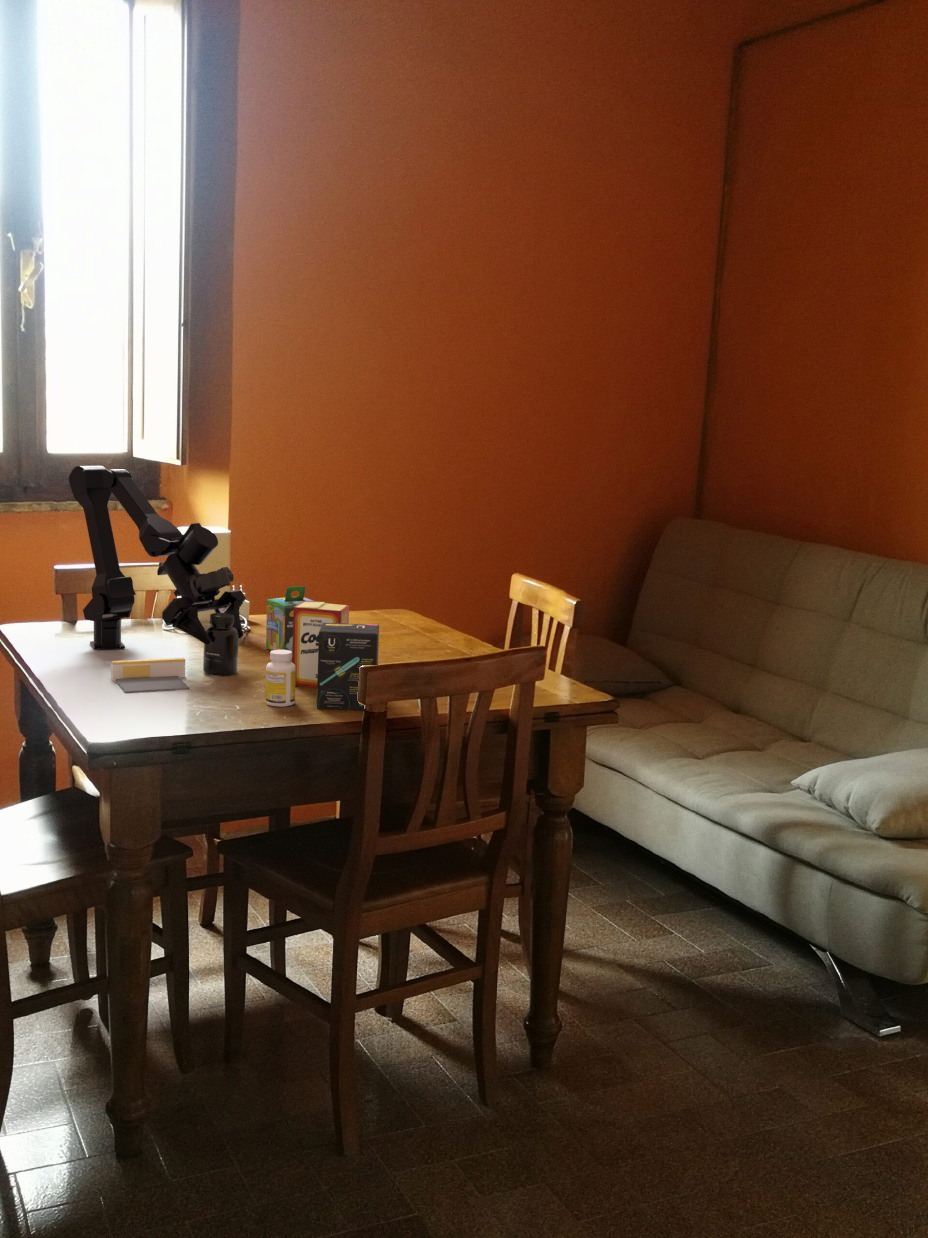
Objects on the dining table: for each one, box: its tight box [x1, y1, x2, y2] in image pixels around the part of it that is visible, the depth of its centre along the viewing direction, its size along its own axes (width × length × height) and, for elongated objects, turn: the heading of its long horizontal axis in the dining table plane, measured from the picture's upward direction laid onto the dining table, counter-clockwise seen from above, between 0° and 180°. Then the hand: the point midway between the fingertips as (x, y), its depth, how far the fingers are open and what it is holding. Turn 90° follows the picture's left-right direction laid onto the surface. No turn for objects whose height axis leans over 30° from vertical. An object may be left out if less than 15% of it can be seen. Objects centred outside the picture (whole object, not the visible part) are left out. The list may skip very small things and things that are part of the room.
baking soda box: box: [291, 601, 350, 689], centre depth 233 cm, size 10×6×16 cm
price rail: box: [111, 657, 186, 681], centre depth 232 cm, size 2×14×4 cm, turn 116°
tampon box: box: [316, 623, 380, 711], centre depth 219 cm, size 11×9×15 cm
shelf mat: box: [115, 676, 190, 694], centre depth 226 cm, size 10×12×1 cm
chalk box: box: [265, 585, 317, 651], centre depth 262 cm, size 9×9×15 cm
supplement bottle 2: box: [265, 650, 296, 708], centre depth 217 cm, size 5×5×10 cm
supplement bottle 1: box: [202, 612, 240, 677], centre depth 238 cm, size 7×7×12 cm
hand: (225, 640), depth 237 cm, fingers open, 9 cm apart
